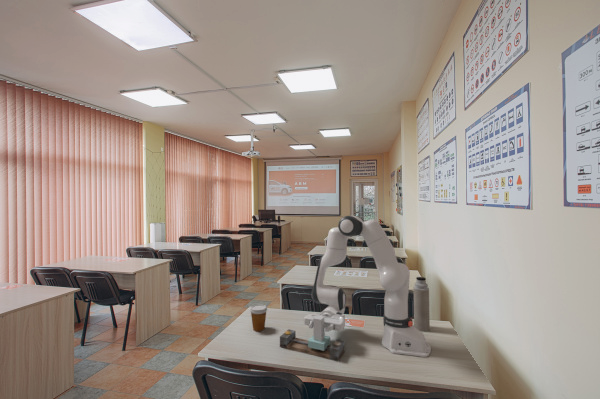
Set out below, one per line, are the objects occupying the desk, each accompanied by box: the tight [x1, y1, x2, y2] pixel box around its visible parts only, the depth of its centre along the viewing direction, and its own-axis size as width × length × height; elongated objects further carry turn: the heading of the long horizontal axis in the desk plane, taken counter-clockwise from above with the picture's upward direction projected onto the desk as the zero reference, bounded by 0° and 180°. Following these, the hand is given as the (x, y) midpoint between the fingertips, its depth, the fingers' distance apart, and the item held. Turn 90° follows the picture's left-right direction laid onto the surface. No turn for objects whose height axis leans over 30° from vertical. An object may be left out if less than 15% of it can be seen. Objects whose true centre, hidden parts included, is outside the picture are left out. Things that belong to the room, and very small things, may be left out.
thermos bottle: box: [412, 276, 431, 332], centre depth 160 cm, size 8×8×28 cm
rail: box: [279, 328, 346, 362], centre depth 138 cm, size 30×9×6 cm, turn 64°
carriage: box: [307, 316, 331, 351], centre depth 137 cm, size 8×8×13 cm
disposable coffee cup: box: [249, 304, 268, 332], centre depth 162 cm, size 10×10×12 cm
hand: (318, 328), depth 136 cm, fingers open, 7 cm apart
